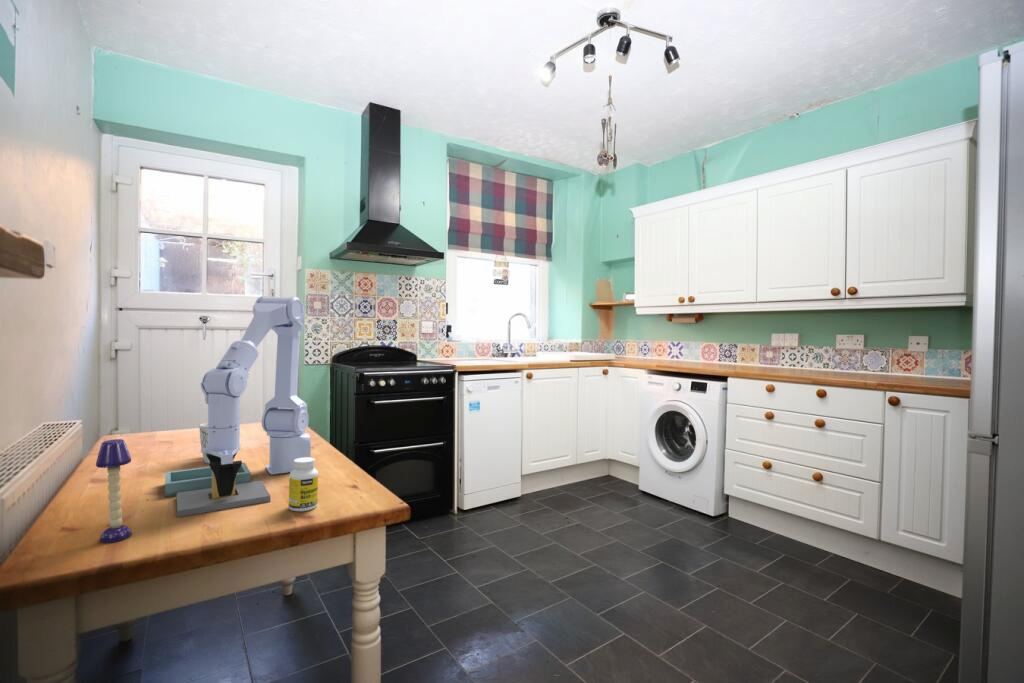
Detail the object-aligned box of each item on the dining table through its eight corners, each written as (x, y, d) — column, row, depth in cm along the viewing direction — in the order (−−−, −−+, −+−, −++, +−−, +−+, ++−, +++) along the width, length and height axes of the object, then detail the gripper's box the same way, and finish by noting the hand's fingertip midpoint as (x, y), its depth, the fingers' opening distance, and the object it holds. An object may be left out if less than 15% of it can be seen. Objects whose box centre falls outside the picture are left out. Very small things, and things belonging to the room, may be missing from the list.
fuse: (233, 496, 104) (233, 463, 104) (235, 500, 102) (235, 467, 102) (211, 499, 102) (211, 466, 102) (212, 504, 100) (213, 470, 99)
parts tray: (244, 473, 120) (244, 462, 120) (250, 484, 112) (250, 472, 112) (165, 484, 111) (165, 472, 111) (164, 497, 103) (165, 484, 103)
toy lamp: (92, 545, 80) (92, 444, 80) (100, 534, 84) (100, 438, 84) (128, 540, 82) (128, 442, 82) (134, 529, 86) (135, 436, 86)
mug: (188, 459, 132) (188, 422, 131) (221, 453, 139) (221, 418, 138) (208, 466, 125) (208, 428, 125) (241, 460, 132) (242, 423, 132)
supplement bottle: (299, 514, 95) (300, 464, 95) (283, 508, 98) (283, 460, 98) (323, 506, 100) (324, 458, 100) (307, 500, 103) (307, 454, 102)
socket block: (261, 485, 112) (261, 480, 111) (270, 501, 102) (270, 495, 102) (176, 498, 102) (176, 492, 102) (177, 517, 92) (177, 510, 92)
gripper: (199, 421, 105) (198, 484, 106) (203, 434, 93) (202, 504, 94) (236, 418, 109) (236, 478, 110) (245, 430, 97) (244, 497, 98)
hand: (223, 490), depth 102 cm, fingers open, 7 cm apart
